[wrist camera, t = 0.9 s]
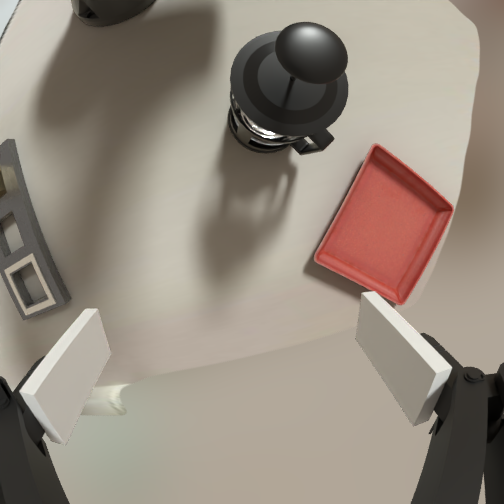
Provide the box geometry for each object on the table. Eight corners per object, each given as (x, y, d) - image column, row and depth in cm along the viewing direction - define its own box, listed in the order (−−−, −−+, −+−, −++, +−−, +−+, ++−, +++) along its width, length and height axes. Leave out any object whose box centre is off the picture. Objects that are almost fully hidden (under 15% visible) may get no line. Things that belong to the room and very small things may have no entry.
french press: (209, 116, 34) (180, 41, 12) (260, 69, 33) (296, -37, 10) (275, 177, 37) (341, 187, 15) (323, 129, 35) (431, 90, 13)
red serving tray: (393, 299, 44) (403, 308, 40) (305, 254, 40) (311, 261, 37) (443, 204, 40) (455, 207, 37) (363, 142, 37) (374, 140, 33)
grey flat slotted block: (-23, 174, 32) (-31, 175, 29) (14, 139, 31) (6, 138, 29) (29, 315, 39) (22, 321, 37) (71, 298, 39) (64, 304, 37)
